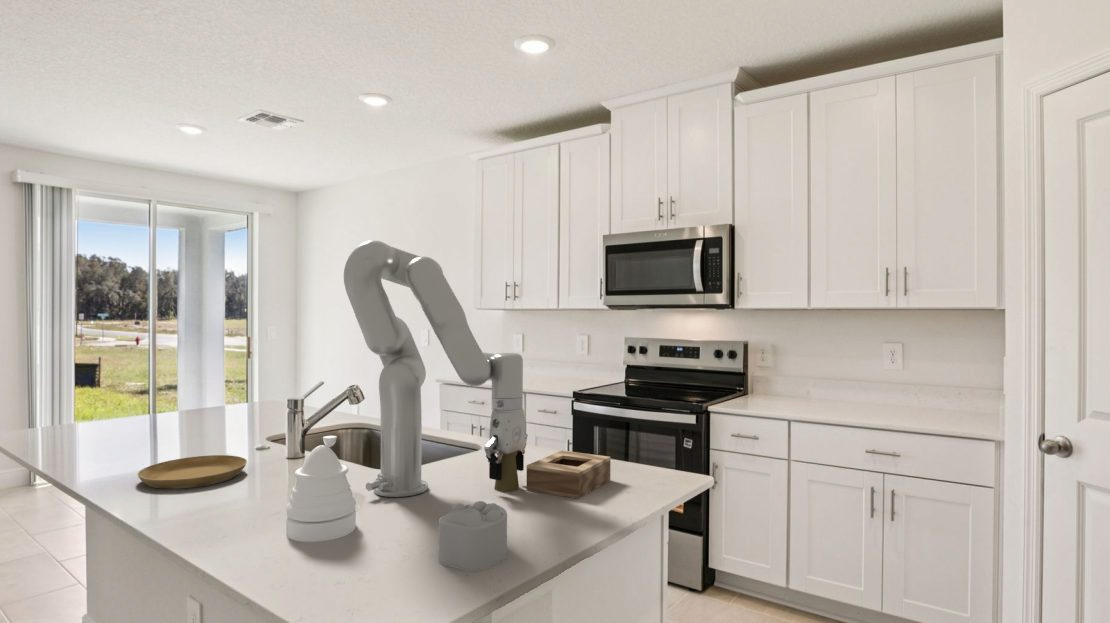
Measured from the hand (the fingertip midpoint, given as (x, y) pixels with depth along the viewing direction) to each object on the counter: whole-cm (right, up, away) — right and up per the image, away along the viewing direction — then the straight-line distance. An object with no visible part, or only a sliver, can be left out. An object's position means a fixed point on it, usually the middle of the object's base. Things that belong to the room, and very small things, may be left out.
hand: (506, 474), depth 154 cm
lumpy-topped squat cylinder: (-2, -4, -41) cm, 41 cm away
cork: (0, -4, 0) cm, 4 cm away
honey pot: (-34, -4, -29) cm, 45 cm away
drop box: (+15, -3, +3) cm, 16 cm away
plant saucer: (-80, -3, +8) cm, 81 cm away
